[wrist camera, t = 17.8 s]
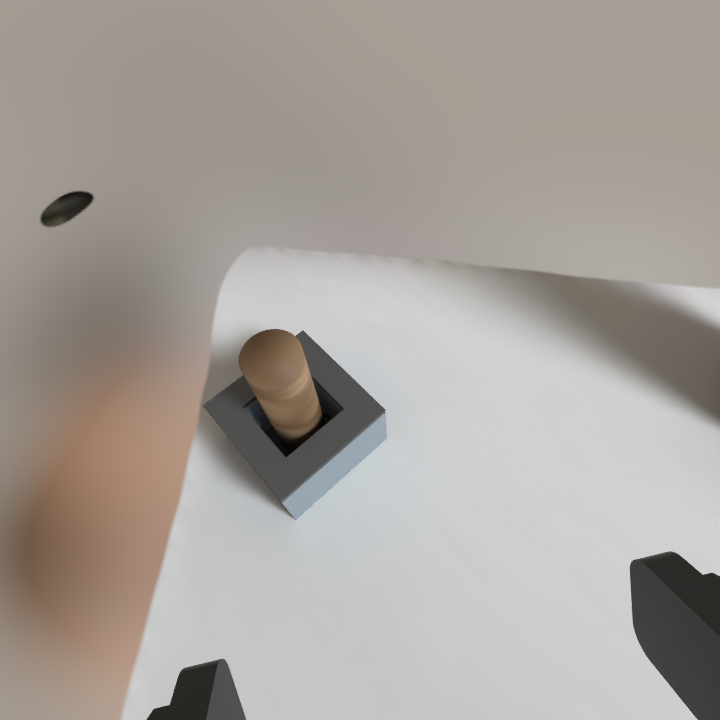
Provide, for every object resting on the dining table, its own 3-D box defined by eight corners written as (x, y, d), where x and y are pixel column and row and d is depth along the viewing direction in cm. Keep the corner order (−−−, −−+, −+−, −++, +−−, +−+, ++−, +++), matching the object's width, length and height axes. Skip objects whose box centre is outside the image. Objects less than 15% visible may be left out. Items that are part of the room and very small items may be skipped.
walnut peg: (309, 407, 44) (277, 318, 32) (338, 437, 42) (316, 356, 30) (274, 436, 42) (226, 355, 30) (302, 468, 41) (264, 397, 29)
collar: (313, 365, 46) (303, 330, 41) (386, 438, 42) (385, 409, 37) (226, 433, 43) (202, 405, 38) (295, 519, 39) (280, 501, 34)
